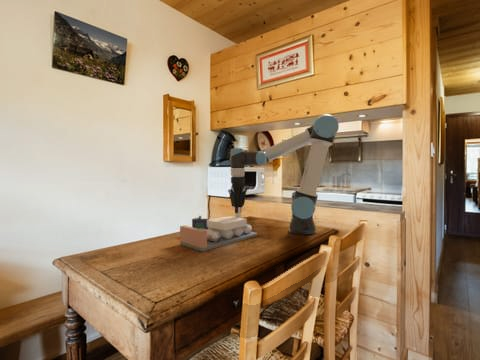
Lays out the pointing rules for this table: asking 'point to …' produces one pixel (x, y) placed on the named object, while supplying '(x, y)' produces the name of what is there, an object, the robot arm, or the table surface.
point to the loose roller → (213, 235)
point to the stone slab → (226, 223)
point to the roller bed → (199, 241)
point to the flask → (199, 223)
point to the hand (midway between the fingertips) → (238, 218)
